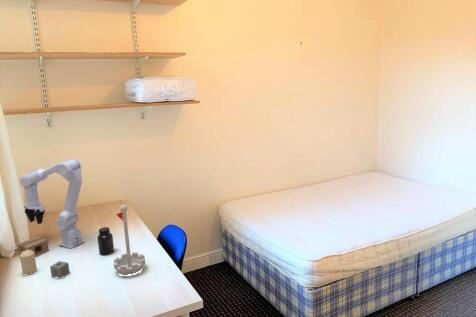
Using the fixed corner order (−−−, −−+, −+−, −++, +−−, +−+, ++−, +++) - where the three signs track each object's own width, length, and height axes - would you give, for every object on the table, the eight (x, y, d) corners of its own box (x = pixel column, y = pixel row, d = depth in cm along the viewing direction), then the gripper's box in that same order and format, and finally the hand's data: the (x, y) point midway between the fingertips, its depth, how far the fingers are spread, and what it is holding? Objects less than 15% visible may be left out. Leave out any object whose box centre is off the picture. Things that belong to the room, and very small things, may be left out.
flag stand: (152, 267, 165) (146, 202, 158) (129, 281, 154) (122, 212, 147) (130, 260, 171) (124, 198, 165) (108, 273, 160) (100, 207, 154)
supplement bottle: (114, 248, 184) (111, 225, 182) (114, 253, 178) (111, 230, 176) (99, 250, 182) (96, 227, 180) (99, 256, 176) (96, 233, 173)
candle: (21, 276, 161) (17, 254, 159) (24, 269, 166) (21, 249, 164) (35, 273, 162) (31, 252, 160) (38, 267, 168) (34, 247, 165)
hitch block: (49, 250, 184) (47, 239, 183) (29, 259, 175) (27, 247, 174) (38, 247, 188) (36, 236, 186) (19, 256, 179) (17, 244, 178)
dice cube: (61, 271, 164) (59, 261, 163) (69, 273, 162) (68, 262, 161) (51, 277, 159) (50, 266, 158) (60, 279, 158) (58, 268, 156)
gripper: (48, 196, 190) (52, 221, 193) (30, 193, 197) (34, 217, 200) (35, 201, 184) (39, 226, 187) (17, 197, 191) (21, 222, 194)
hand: (36, 222), depth 193 cm, fingers open, 6 cm apart
